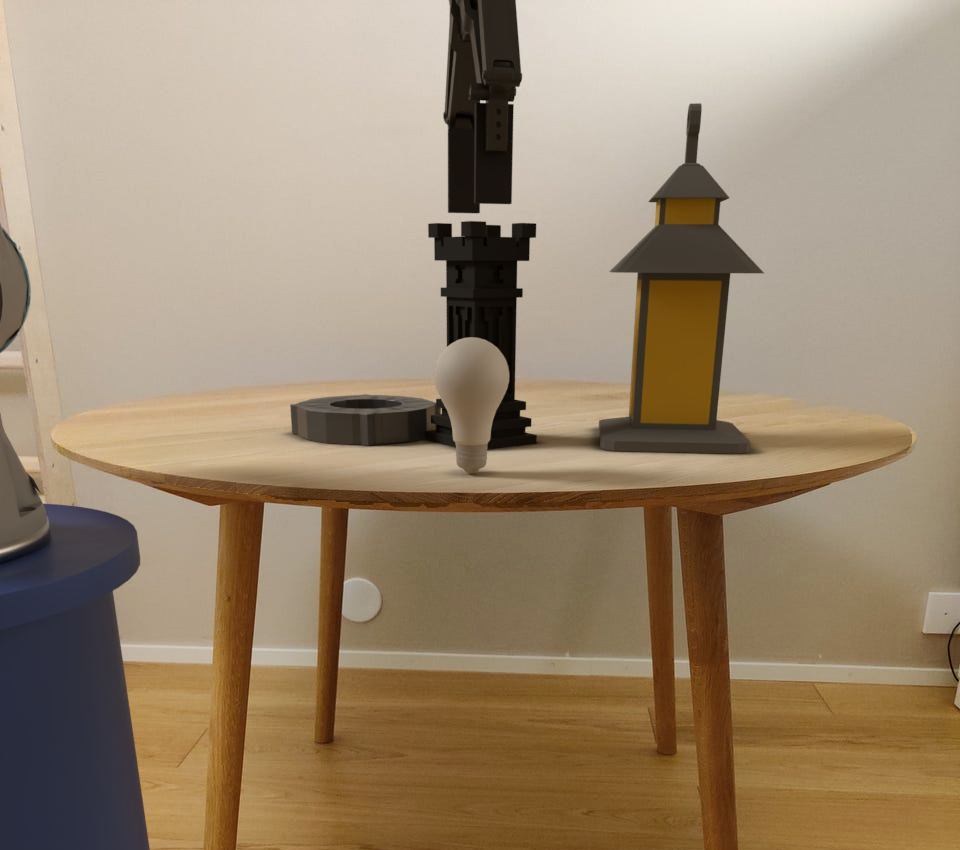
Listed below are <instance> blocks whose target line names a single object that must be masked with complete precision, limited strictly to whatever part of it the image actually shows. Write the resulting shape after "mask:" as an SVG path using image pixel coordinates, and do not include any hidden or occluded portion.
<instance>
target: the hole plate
mask: <svg viewBox="0 0 960 850" xmlns="http://www.w3.org/2000/svg"><path fill="white" fill-rule="evenodd" d="M289 406H290V421H291V434H292V435H297V436H299V437H300V438H302V439H305V440H308V441H310V442H311V441H312V442H318V443H324V444H336V445H337V444H338V445H351V446H353V445H355V446H356V445H360V446H373V445H389V444H399V443H410V442H414V441H420V440H424V439H425V440H426V431H430V430H436V424H432V423H431V415H437V414H442V408H438V407H436V401H433V400H430V399H425V398H422V397H413V396H405V395H386V394H368V393H367V394H353V395H352V394H350V395H336V396H335V395H334V396H325V397H324V396H323V397H317V398H310V399H306V400H303V401H300V402H298V403H291V404H290V405H289Z"/></svg>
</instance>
